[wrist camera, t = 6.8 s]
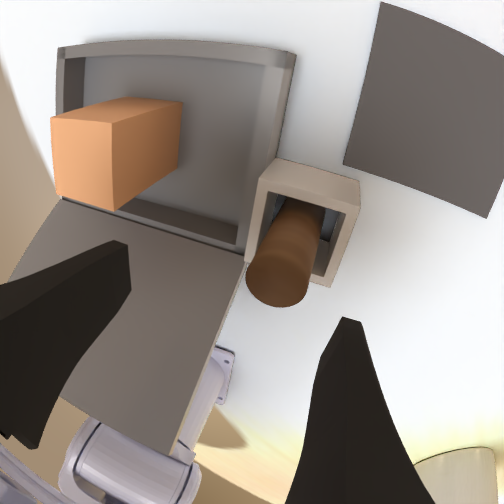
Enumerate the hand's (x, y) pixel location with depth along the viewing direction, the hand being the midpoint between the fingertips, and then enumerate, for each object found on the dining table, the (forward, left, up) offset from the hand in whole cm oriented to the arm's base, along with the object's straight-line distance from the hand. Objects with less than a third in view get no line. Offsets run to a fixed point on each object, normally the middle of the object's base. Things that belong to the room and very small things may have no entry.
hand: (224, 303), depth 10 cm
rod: (-1, -1, -9) cm, 10 cm away
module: (+2, +8, -9) cm, 12 cm away
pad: (+7, -7, -9) cm, 14 cm away
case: (0, +6, -9) cm, 11 cm away
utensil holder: (-30, -33, -10) cm, 46 cm away
